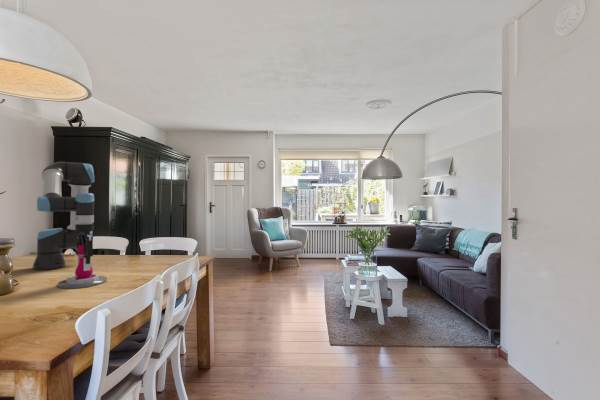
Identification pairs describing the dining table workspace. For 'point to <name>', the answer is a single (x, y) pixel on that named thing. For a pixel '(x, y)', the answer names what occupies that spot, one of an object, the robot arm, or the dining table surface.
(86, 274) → the pepper mill
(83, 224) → the robot arm
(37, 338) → the dining table surface
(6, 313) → the dining table surface
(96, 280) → the ring seat
